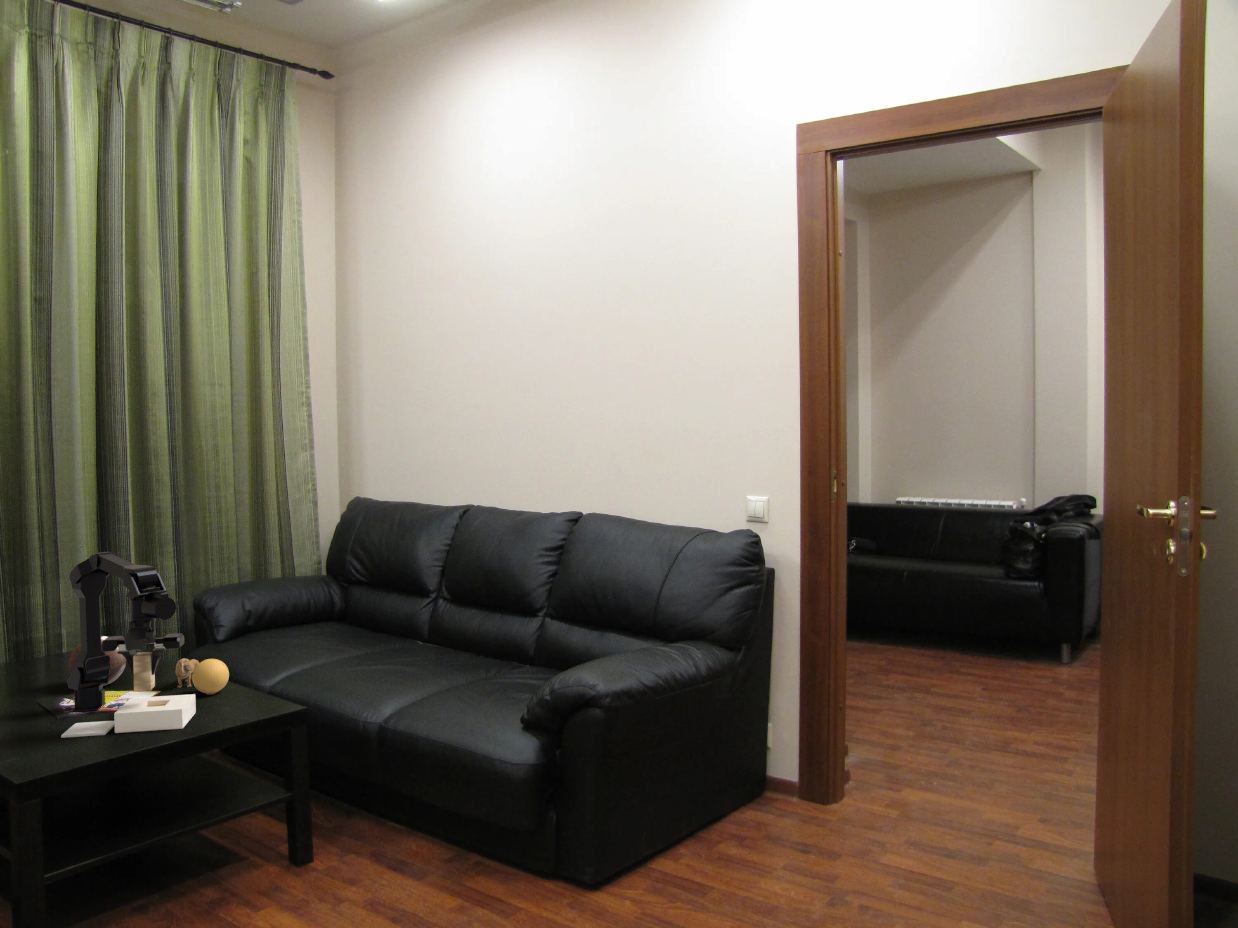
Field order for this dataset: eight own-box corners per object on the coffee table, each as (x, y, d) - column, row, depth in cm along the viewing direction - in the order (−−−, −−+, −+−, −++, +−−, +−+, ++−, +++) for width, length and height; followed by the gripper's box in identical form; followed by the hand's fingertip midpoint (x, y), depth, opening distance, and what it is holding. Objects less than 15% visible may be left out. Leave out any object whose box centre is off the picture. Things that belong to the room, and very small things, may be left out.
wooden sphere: (124, 689, 279) (122, 639, 278) (65, 695, 273) (64, 643, 272) (129, 677, 293) (128, 629, 292) (74, 682, 287) (73, 633, 286)
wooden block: (134, 690, 243) (133, 656, 243) (138, 686, 247) (137, 652, 247) (150, 689, 244) (150, 655, 244) (154, 685, 248) (154, 651, 248)
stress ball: (225, 699, 271) (242, 670, 278) (203, 678, 266) (221, 650, 273) (200, 701, 275) (217, 672, 282) (178, 681, 269) (196, 652, 277)
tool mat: (61, 737, 235) (61, 735, 235) (75, 725, 245) (75, 722, 245) (104, 734, 237) (104, 732, 237) (117, 722, 247) (117, 720, 247)
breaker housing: (114, 732, 239) (114, 713, 238) (131, 716, 252) (131, 697, 252) (182, 728, 242) (182, 708, 242) (195, 712, 255) (195, 693, 255)
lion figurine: (191, 690, 278) (190, 659, 277) (172, 690, 277) (171, 660, 277) (205, 677, 292) (204, 648, 292) (186, 678, 291) (186, 649, 291)
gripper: (93, 623, 235) (94, 685, 236) (173, 620, 239) (175, 681, 240) (107, 614, 246) (108, 673, 247) (184, 611, 250) (185, 669, 251)
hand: (144, 674), depth 246 cm, fingers closed on wooden block, 4 cm apart
